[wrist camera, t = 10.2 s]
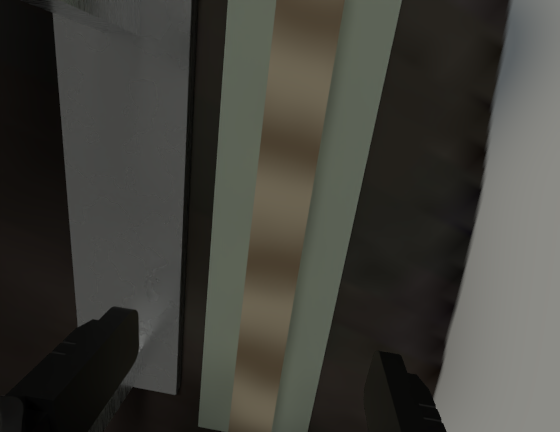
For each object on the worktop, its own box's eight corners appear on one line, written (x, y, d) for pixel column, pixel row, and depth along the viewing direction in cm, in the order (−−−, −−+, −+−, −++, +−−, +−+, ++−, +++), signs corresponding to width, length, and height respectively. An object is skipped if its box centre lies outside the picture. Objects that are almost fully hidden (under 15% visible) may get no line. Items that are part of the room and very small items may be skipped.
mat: (240, -103, 17) (236, -117, 16) (416, -84, 16) (422, -96, 15) (201, 415, 28) (198, 426, 27) (304, 435, 27) (304, 446, 27)
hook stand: (60, -55, 18) (-923, -710, 4) (199, -38, 18) (-290, -697, 3) (89, 368, 27) (-152, 646, 13) (180, 385, 27) (33, 691, 13)
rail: (291, -59, 16) (287, -96, 13) (351, -52, 16) (359, -88, 13) (235, 415, 26) (225, 452, 23) (271, 422, 26) (266, 460, 23)
